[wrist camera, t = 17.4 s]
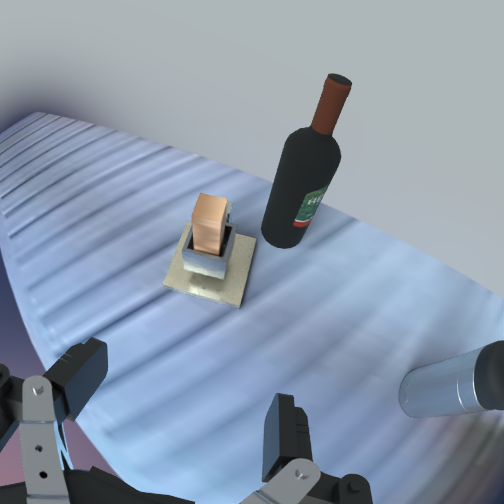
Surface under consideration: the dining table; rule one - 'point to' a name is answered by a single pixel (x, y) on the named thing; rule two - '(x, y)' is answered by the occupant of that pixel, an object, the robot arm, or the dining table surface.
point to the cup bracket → (212, 266)
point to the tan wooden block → (209, 224)
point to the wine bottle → (305, 169)
